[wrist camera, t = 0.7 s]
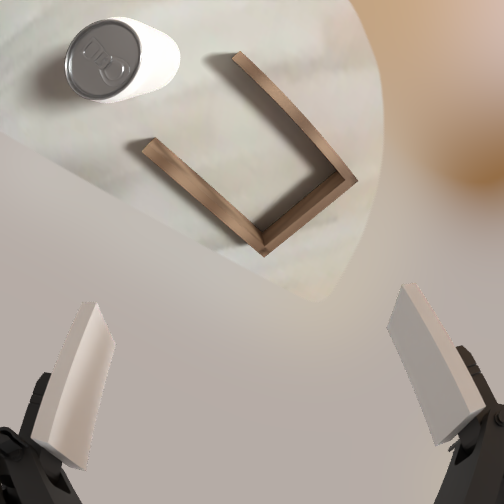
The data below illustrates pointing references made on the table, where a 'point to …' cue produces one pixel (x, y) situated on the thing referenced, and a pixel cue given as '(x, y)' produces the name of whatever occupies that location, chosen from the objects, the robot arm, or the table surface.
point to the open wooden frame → (228, 212)
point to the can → (120, 60)
